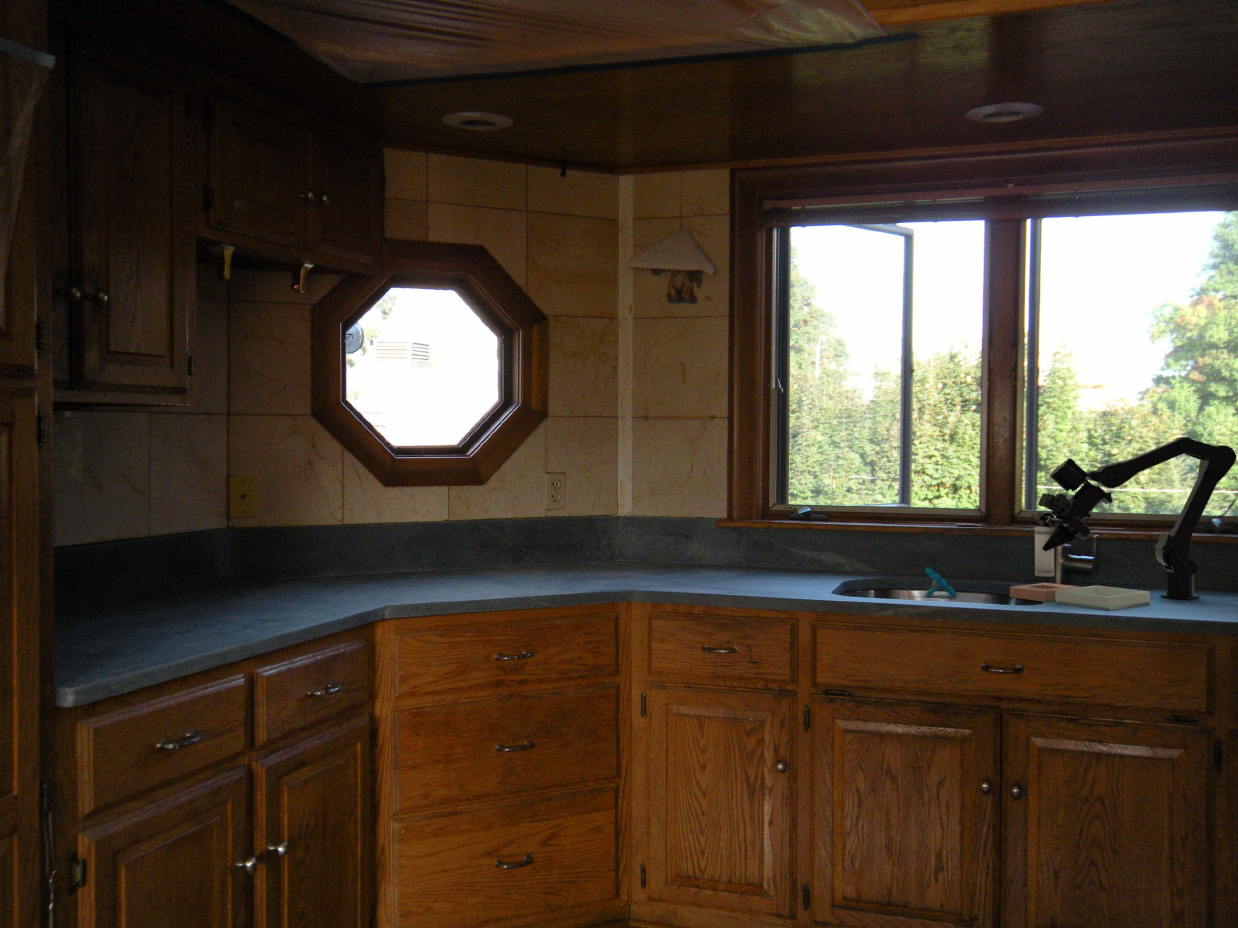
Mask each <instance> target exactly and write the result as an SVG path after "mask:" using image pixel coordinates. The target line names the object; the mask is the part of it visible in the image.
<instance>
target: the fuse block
mask: <svg viewBox="0 0 1238 928" xmlns="http://www.w3.org/2000/svg"><path fill="white" fill-rule="evenodd" d="M1073 588H1081V586H1075V585H1066V584H1059V583H1053V582H1051V583H1050V582H1040V583H1034V584H1033V583H1032V584H1025V585H1015V586H1009V598H1014V599H1023V600H1030V601H1036V602H1044V603H1045V602H1051V601H1055V591H1057V590H1065V589H1073Z"/></svg>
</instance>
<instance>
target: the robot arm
mask: <svg viewBox="0 0 1238 928" xmlns="http://www.w3.org/2000/svg"><path fill="white" fill-rule="evenodd" d="M1183 454H1184V455H1186V456H1189V457H1191V458H1194V459H1196V460H1200V461H1199V464H1198V465H1199V466H1198V475H1197V479H1196V481H1195V483H1194V485H1193V487H1192V489H1191V491H1190V493H1189V495H1188V498H1186V501H1185V503H1184V505H1183V508H1182V509H1181V512H1180V514H1179V516H1178V518H1177V520H1176V522H1175V524H1174V526H1173V528H1172V529H1170V531H1169V532H1168V533H1166V532H1161V533H1160V535H1159V538H1158V541H1157V543H1156V544H1155V545H1154V546H1153V547H1154V548H1155V552H1154V555H1155V558H1156V560H1157V561H1158V562H1159V563H1161V564H1162V566H1163V568H1164V570H1165V571H1167V572H1166V593H1163V594H1160V597H1162V598H1170V599H1178V600H1191V599H1198V598H1201V596H1200V594H1199V595H1198V594H1195V592H1194V591H1195V578H1194V577H1195V576H1194V575H1197V572H1198V570H1199V565H1197V564H1196V563H1195V562H1194V561H1193V560H1192V559H1190V552H1191V549H1192V537H1193V534H1194V532H1195V530H1196V527H1197V526H1198V524H1199V522H1200V519H1201V518H1202V516H1203V513H1204V511H1205V509H1206V508H1207V506H1208V503H1209V501H1210V499H1211V497H1212V495H1213V493H1214V491H1215V489H1216V487H1217V485H1218V483H1220V481H1221V480H1222V479H1223V478H1224V477H1225V476H1226V475H1227V474H1228V473H1229V471H1230V470H1231V469H1232V467H1233V466H1234V465H1235V463H1236V461H1237V454H1236V452H1235V450H1234V449H1233V448H1232V447H1231V446H1228V445H1224V444H1223V445H1222V444H1221V445H1219V444H1217V445H1215V444H1213V445H1212V444H1209V443H1206V442H1202V441H1199V440H1195V439H1193V438H1191V437H1188V436H1179V437H1176V438H1175V439H1174V440H1172V441H1169V442H1167V443H1165V444H1163V445H1160V446H1157V447H1155V448H1152V449H1151V450H1148V451H1146V452H1145V451H1144V452H1143V453H1141V454H1139V455H1136V456H1134V457H1132V458H1128V459H1125V460H1120V461H1115V462H1112V463H1108V464H1104V465H1101V466H1099V467H1097V469H1096V470H1087V471H1085V470H1084V469H1083V468H1082V467H1080V466H1079V465H1078V464H1077V462H1076V461H1075V460H1074V459H1072V458H1071V457H1069V458H1067V459H1066V460H1064V461H1063V462H1062V463H1061V464H1059V465H1058V466H1057V467H1056V468H1054V469H1053V470H1052V471H1051V473H1050V475H1049V477H1050V479H1052V480H1053V482H1055V483H1056V484H1057V485H1058V486H1059V487H1061V488H1062V489H1063V490H1064V491H1065V492H1069V491H1072V492H1073V493H1074V492H1075V491H1076V492H1075V493H1074V494H1073V495H1072V496H1071V497H1070V498H1067V495H1066V494H1064V493H1059V492H1058V493H1056V494H1051V493H1046V492H1045V493H1042V494H1041V496H1040V499H1039V501H1038V503H1037V505H1038V506H1039V507H1043V508H1046V509H1047V510H1049V511H1051V512H1047V511H1045V512H1044V511H1040V512H1038V513H1037V514H1036V515H1034V520H1035V521H1037V523H1038V524H1040V527H1053V528H1054V532H1053V533H1052V535H1051V536H1050V538H1049V539H1048V540H1047V542H1046V543H1045V544H1044V546H1043V548H1042V549H1043V550H1044V551H1048V550H1050V549H1053V548H1054V549H1055V548H1058V547H1060V546H1063V545H1066V544H1067V543H1070V542H1071V543H1072V542H1073V541H1076V540H1078V538H1079V539H1080V540H1087V539H1088V537H1090V536H1091V532H1092V531H1091V530H1092V529H1091V528H1090V526H1088V525H1087V524H1086V523H1085V521H1084V520H1085V519H1088V520H1089V519H1090V518H1091V517H1092V515H1091V512H1092V511H1094V509H1095V508H1096V507H1097V506H1099V504H1100V503H1101V502H1102V503H1104V504H1106V505H1107V504H1112V503H1113V497H1112V494H1113V493H1112V492H1111V491H1110V492H1107V491H1105V490H1104V489H1103V488H1108V489H1116V488H1118V487H1120V486H1122V485H1123V484H1125V483H1127V482H1128V481H1130V480H1131V479H1133V477H1135V476H1137V474H1139V473H1141V472H1144V471H1146V470H1148V469H1150V468H1153V467H1156V466H1158V465H1160V464H1162V463H1165V462H1168V461H1170V460H1172V459H1174V458H1177V457H1179V456H1181V455H1183ZM1090 481H1091V482H1096V483H1097V485H1096V484H1095V485H1094V484H1092V483H1091V482H1090ZM1102 487H1103V488H1102ZM1077 535H1078V538H1077V537H1076V536H1077ZM1032 547H1033V548H1034V549H1035V543H1033V546H1032Z"/></svg>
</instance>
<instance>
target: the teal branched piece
mask: <svg viewBox="0 0 1238 928" xmlns="http://www.w3.org/2000/svg"><path fill="white" fill-rule="evenodd" d="M924 572H925V573H926V574H927V575H928V577H929V578H930V579H931V580H933V581H932V582H931V584H930V586H931V587H930V588H929V589H928V590H927V591H926V592H925V596H926V597H927V598H930V597H932V596H933V594H934V593H935V592H936V591H939V590H940V589H941V588H942V590H943V591H944V592H946V593H948V595H950V596H952V597H953V598H956V597H957V596H958V592H957V591H955V590H954V588H953V587H952V586H951V585H949V584H948V582H947V581H946V579H944V578H943V577H941V575H940V574H939V573H936V572H935V571H934V570H933V569H931V568H929V567H926V568H925V571H924Z"/></svg>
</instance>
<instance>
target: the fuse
mask: <svg viewBox="0 0 1238 928" xmlns="http://www.w3.org/2000/svg"><path fill="white" fill-rule="evenodd" d="M1053 532H1054V528H1053V527H1041V526H1036V527H1034V544H1035V548H1034V572H1035V573H1034V574H1035V576H1037V577H1046V578H1047V577H1055V548H1053V549H1050V550H1048V551H1044V550H1043V549H1042V548H1043V546H1044V544H1045V543H1046V542H1047V540H1048V539H1049V538H1050V536H1051V535H1052V533H1053Z"/></svg>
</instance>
